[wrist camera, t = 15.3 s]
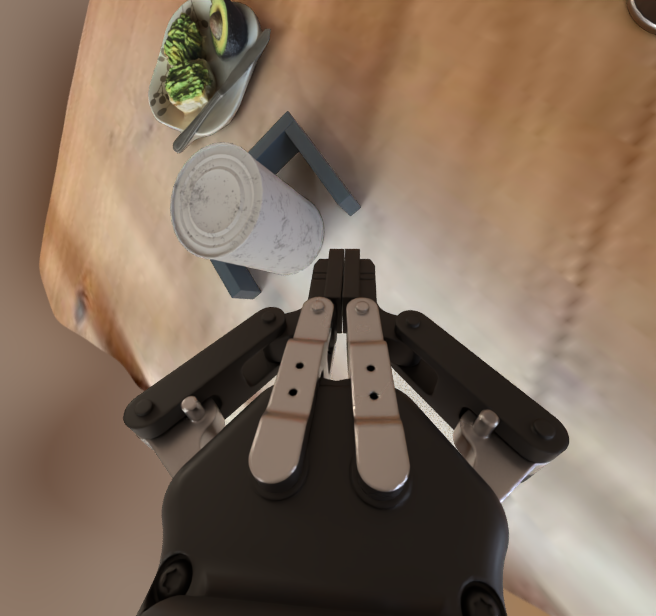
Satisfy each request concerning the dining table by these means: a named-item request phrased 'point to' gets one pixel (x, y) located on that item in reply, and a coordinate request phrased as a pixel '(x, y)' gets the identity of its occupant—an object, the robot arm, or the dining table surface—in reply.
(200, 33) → the avocado toast plate
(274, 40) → the dining table surface
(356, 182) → the dining table surface
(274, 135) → the can bay
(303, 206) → the white marbled can
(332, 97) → the dining table surface
